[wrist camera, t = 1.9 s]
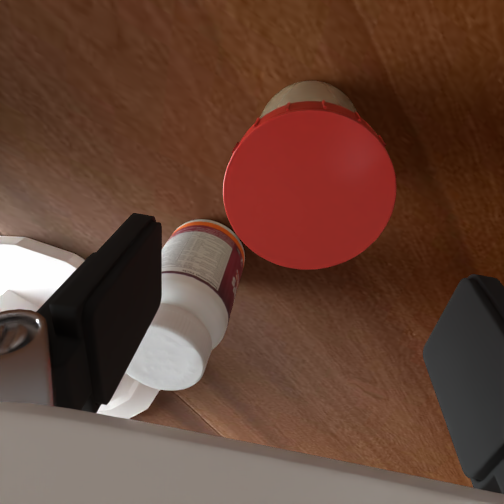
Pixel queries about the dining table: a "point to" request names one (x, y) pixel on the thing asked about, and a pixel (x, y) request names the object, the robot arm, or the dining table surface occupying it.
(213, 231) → the pill bottle
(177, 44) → the dining table surface
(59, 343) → the robot arm
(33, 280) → the dish
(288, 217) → the lid
